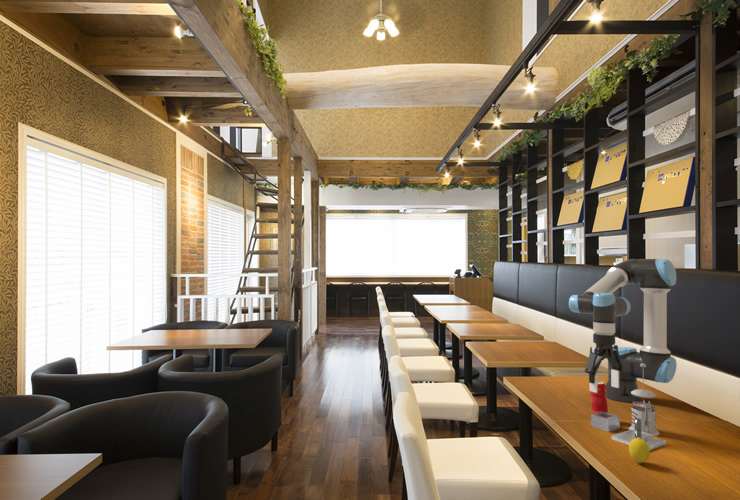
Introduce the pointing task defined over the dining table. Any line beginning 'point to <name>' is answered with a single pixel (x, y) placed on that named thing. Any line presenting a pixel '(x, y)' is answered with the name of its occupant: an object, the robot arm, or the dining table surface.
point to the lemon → (639, 450)
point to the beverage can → (599, 398)
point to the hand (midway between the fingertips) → (604, 389)
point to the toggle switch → (631, 434)
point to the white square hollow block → (605, 421)
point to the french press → (644, 411)
